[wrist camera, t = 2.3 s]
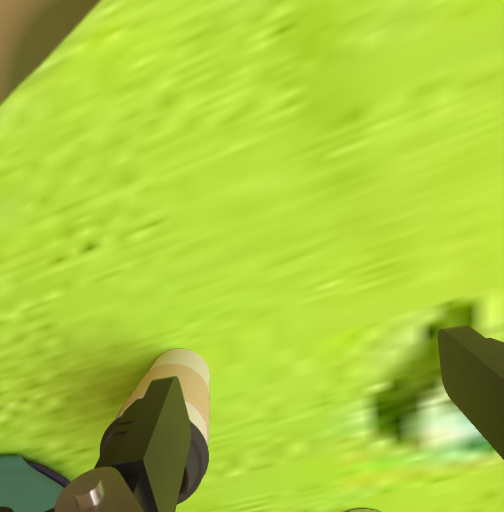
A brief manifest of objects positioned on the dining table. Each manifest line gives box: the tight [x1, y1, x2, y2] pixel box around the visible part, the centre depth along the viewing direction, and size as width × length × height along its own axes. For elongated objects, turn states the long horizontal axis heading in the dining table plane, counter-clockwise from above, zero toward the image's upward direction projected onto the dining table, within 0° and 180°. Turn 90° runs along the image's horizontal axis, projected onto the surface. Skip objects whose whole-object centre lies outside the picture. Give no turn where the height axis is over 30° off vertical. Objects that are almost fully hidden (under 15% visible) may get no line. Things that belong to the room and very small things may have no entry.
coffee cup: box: [100, 349, 210, 504], centre depth 37 cm, size 9×9×15 cm
